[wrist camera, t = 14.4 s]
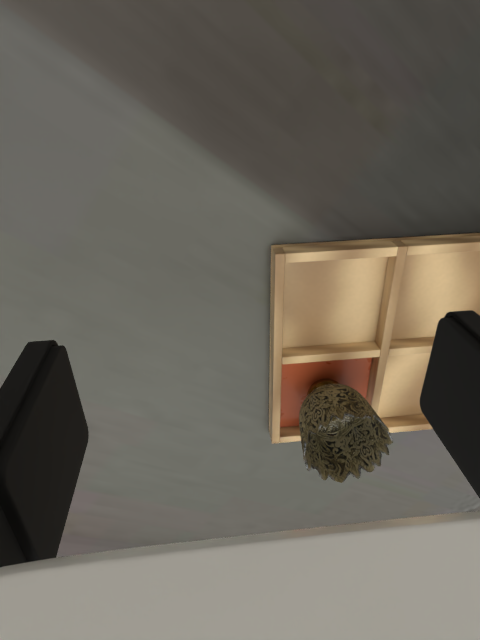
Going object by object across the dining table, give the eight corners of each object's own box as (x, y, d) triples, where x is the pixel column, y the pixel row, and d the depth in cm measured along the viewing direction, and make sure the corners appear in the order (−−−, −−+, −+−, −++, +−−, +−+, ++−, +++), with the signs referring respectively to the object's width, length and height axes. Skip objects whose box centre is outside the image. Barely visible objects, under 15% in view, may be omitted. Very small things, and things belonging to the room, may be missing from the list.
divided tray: (268, 429, 45) (271, 443, 44) (270, 244, 35) (275, 254, 33) (454, 412, 47) (465, 426, 45) (509, 230, 37) (525, 239, 35)
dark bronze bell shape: (374, 386, 43) (410, 447, 36) (318, 429, 45) (342, 494, 38) (328, 345, 40) (356, 403, 33) (270, 393, 42) (286, 457, 35)
